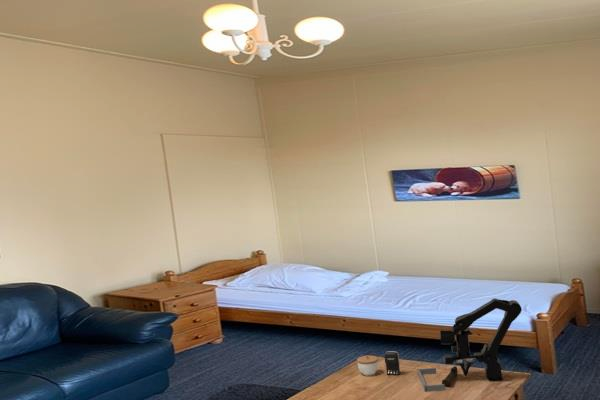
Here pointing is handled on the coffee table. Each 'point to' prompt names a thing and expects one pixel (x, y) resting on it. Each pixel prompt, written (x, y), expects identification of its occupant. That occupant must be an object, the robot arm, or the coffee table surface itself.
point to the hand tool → (450, 377)
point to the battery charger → (392, 363)
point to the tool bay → (429, 387)
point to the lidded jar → (368, 365)
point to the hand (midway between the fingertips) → (465, 376)
